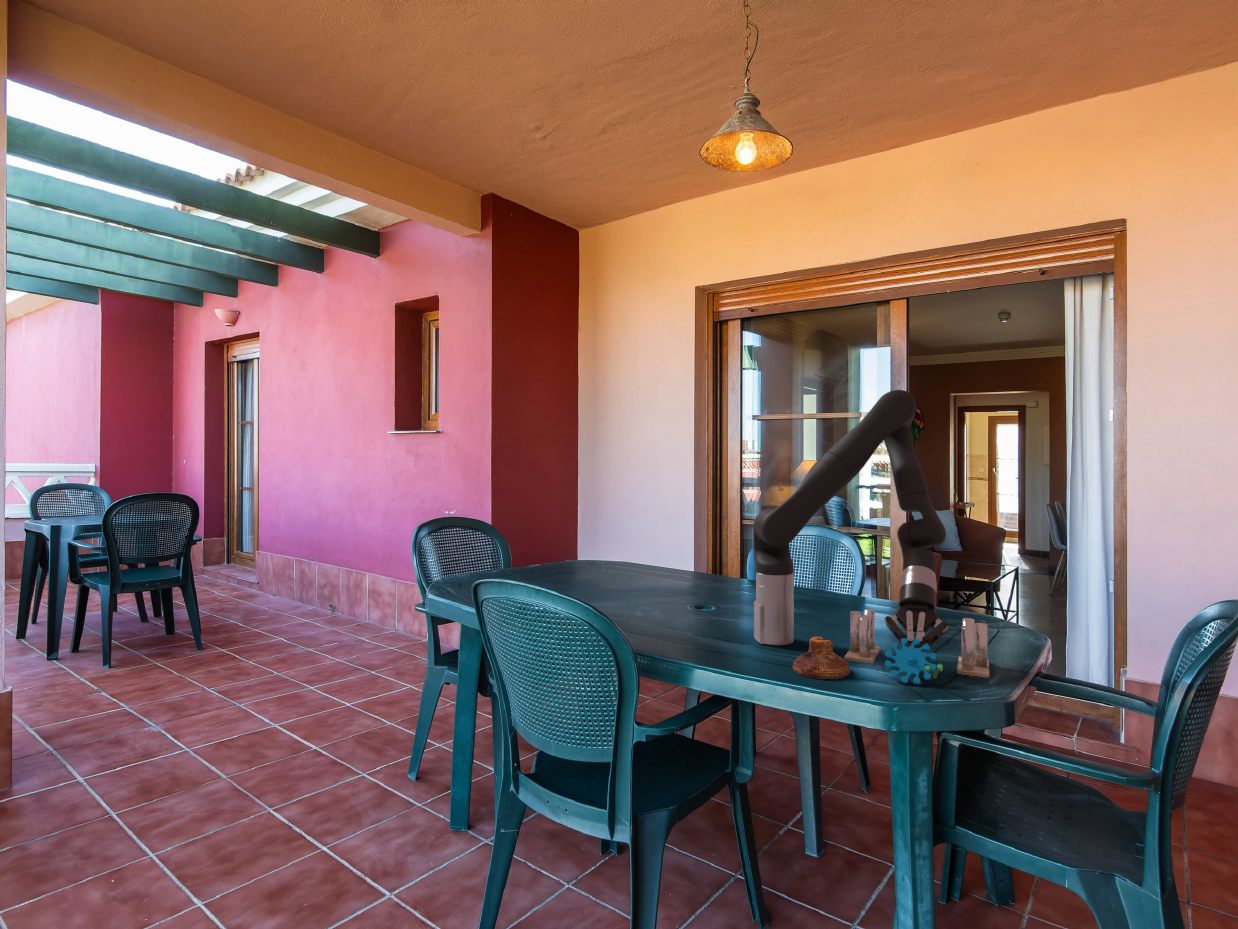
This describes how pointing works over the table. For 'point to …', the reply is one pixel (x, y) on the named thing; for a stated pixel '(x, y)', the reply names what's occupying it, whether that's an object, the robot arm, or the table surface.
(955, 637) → the table surface
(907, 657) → the gear
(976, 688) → the table surface
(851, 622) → the spacers
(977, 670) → the rack
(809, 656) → the bell
